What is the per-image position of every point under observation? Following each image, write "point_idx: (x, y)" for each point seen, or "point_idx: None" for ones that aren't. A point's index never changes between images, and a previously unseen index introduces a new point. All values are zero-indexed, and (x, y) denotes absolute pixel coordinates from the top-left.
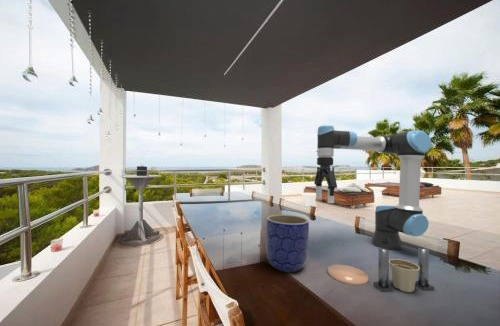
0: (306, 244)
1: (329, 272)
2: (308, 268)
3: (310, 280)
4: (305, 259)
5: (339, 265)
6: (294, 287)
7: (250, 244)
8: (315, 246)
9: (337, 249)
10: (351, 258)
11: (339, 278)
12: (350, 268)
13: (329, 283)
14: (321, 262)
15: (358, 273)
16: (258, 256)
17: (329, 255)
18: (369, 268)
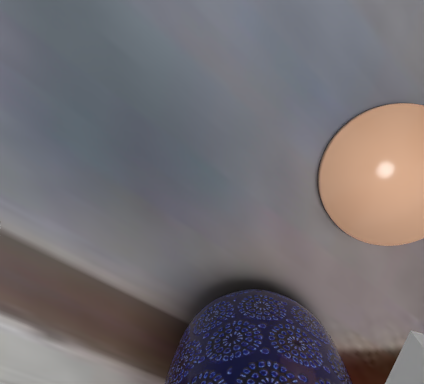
0: (349, 379)
1: (366, 241)
2: (293, 275)
3: (368, 317)
4: (326, 331)
5: (332, 161)
6: (384, 378)
7: (37, 362)
8: (93, 104)
9: (150, 10)
10: (268, 25)
11: (416, 238)
12: (371, 136)
13: (408, 275)
14: (264, 197)
15: (417, 138)
16: (156, 380)
17: (210, 111)
18: (381, 28)
